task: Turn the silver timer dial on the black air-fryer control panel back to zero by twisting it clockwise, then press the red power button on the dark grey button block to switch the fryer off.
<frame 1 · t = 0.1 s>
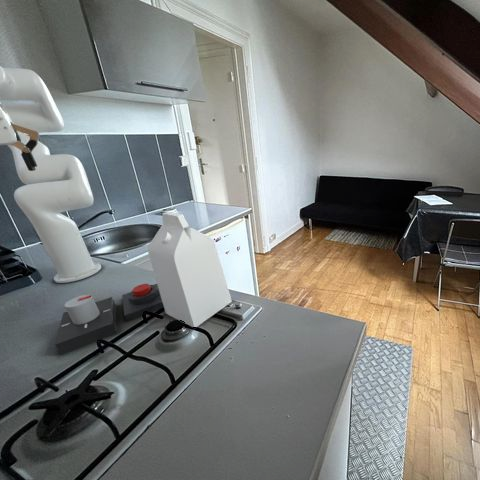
hand: (3, 173, 59), 37 cm above the worktop, tool pointing down, fingers open, 9 cm apart
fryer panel: (92, 327, 64), on the worktop
milk: (199, 308, 69), on the worktop
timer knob: (82, 308, 62), point 6 cm above the worktop, hinge at 90.0°
power button: (142, 290, 71), point 4 cm above the worktop, slide at 0.1 cm
power block: (146, 302, 73), on the worktop
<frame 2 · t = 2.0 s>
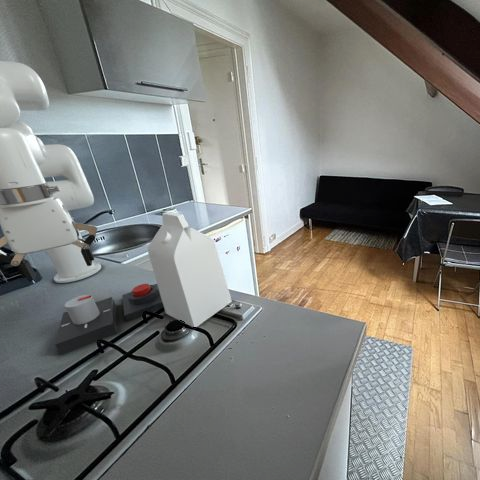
hand: (62, 271, 58), 16 cm above the worktop, tool pointing down, fingers open, 9 cm apart
nothing on the worktop moved.
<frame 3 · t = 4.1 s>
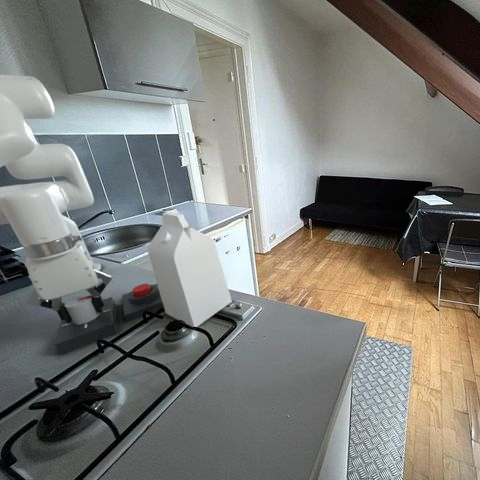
hand: (85, 314, 63), 4 cm above the worktop, tool pointing down, fingers closed on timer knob, 5 cm apart
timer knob: (82, 308, 62), point 6 cm above the worktop, hinge at 90.0°, touching gripper
everything else where it was.
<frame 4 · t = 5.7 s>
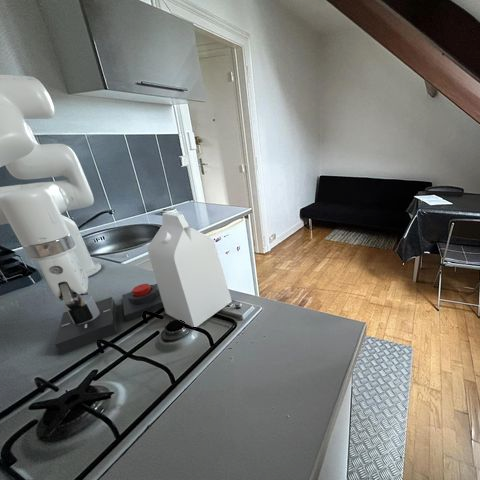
hand: (85, 314, 63), 4 cm above the worktop, tool pointing down, fingers closed on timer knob, 5 cm apart
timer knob: (82, 308, 62), point 6 cm above the worktop, hinge at -0.4°, touching gripper
everything else where it was.
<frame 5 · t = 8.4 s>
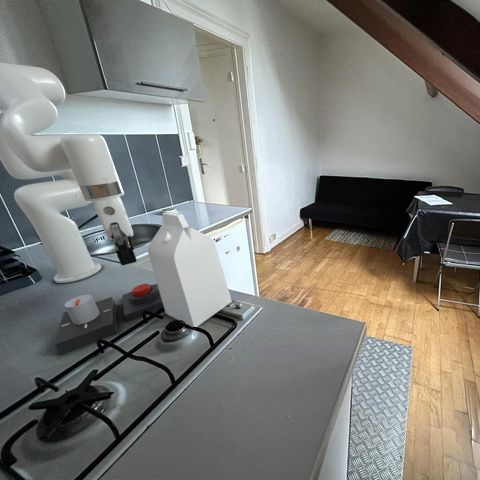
hand: (128, 256, 67), 14 cm above the worktop, tool pointing down, fingers open, 9 cm apart
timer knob: (82, 308, 62), point 6 cm above the worktop, hinge at -0.8°
everything else where it was.
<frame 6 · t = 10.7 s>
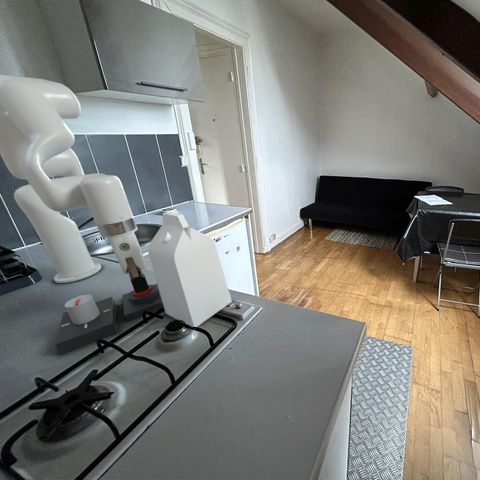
hand: (142, 289, 71), 4 cm above the worktop, tool pointing down, fingers closed
power button: (143, 292, 72), point 3 cm above the worktop, slide at -0.7 cm, touching gripper
everything else where it was.
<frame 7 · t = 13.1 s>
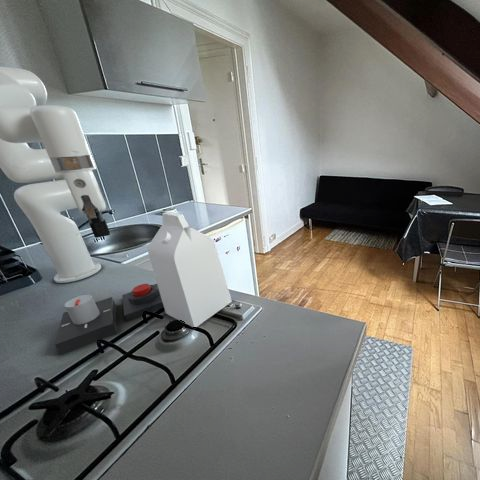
hand: (102, 235, 69), 19 cm above the worktop, tool pointing down, fingers closed
power button: (142, 290, 71), point 4 cm above the worktop, slide at 0.1 cm
everything else where it was.
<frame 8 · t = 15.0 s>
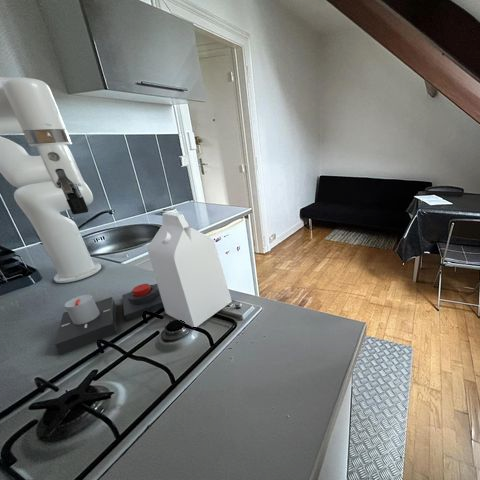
hand: (81, 212, 69), 25 cm above the worktop, tool pointing down, fingers closed
nothing on the worktop moved.
at the end: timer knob at -1° (first picture: +90°); power button pushed in 1.1 cm at the most during the clip, back to where it started at the end; power button slide at 0.1 cm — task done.
